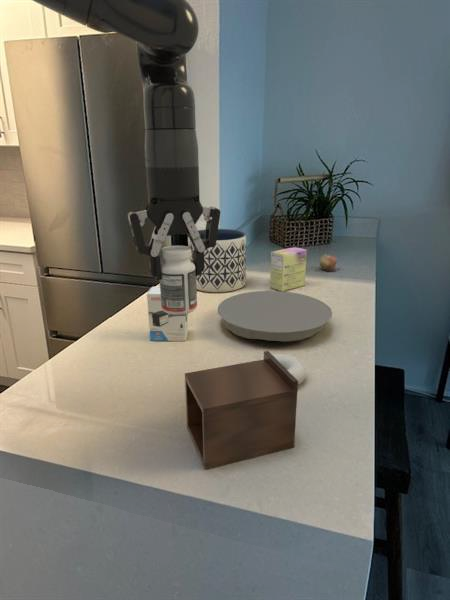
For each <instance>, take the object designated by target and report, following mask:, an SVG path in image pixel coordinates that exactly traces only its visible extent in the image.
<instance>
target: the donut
mask: <svg viewBox="0 0 450 600" xmlns="http://www.w3.org/2000/svg"><path fill="white" fill-rule="evenodd" d="M271 354H272V353H271ZM272 355H273V356H274V357H275V358H276V359H277V360H278V361H279V362H280V363H281V364H282V365H283V366H284V367H285V368H286V369H287V370H288V371H289V372H290V373H291V374H292V375H293V376H294V377H295V378H296V379H297V380H298V385H300V384H301V383H302V382H303V381H304V380H305V378H306V376H307V368H306V366H305V364H304V363H303V361H301V360H300V359H299V358H297V357H295V356H292V355H289V354H284V353H273V354H272ZM263 359H264V356H263V357H261V358H259V359H258V360H263Z"/></svg>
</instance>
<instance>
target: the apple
mask: <svg viewBox="0 0 450 600" xmlns="http://www.w3.org/2000/svg"><path fill="white" fill-rule="evenodd" d="M318 261H319V266H320V269H321V270H322V271H325V272H333V271H334V270H335V268H336V265H337V263H338V259H337V257H336V256H335V255H331V254H327V253H325V254H323V255H321V257H320V258H319V260H318Z"/></svg>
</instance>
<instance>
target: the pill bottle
mask: <svg viewBox="0 0 450 600" xmlns="http://www.w3.org/2000/svg"><path fill="white" fill-rule="evenodd" d="M191 256H192V254H191V248H190V247H188V245H167V246H165V247H161V249H160V259H162V262H160V264H161V280H159V287H160V293H161V306H162V310H163V311H164V312H166V313H168V314H173V315H181V314H190V313H193V312H194V311H195V310H197V307H198V295H197V292H198V290H197V289H196V269H195V264H194V263H193V262H192V261H191V260H190V258H191Z"/></svg>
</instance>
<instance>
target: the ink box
mask: <svg viewBox="0 0 450 600" xmlns="http://www.w3.org/2000/svg"><path fill="white" fill-rule="evenodd" d="M146 301H147V314H148V315H147V316H148V327H149V340H150V341H151V342H186V341H187V338H188V334H189V319H188V318H189V317H188V314H189V313H187V314H181V315H173V314H168V313H166V312H164V311H163V310H162V306H161V293H160V286H152V287H150V288H149V289H148V292H147V293H146Z"/></svg>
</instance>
